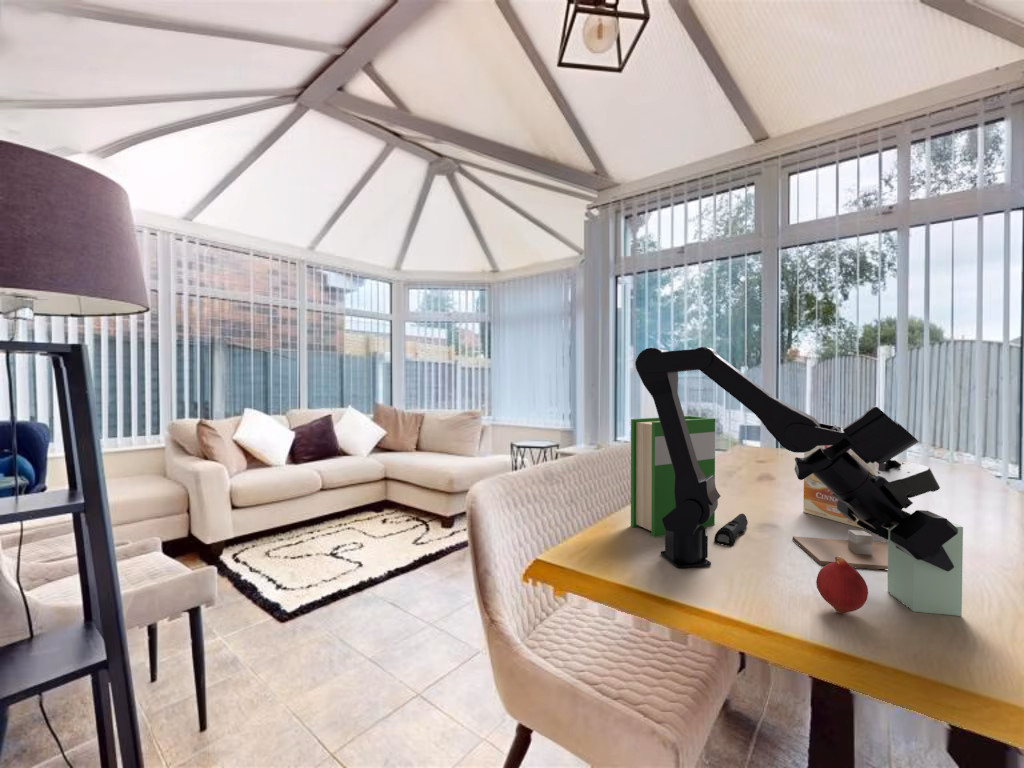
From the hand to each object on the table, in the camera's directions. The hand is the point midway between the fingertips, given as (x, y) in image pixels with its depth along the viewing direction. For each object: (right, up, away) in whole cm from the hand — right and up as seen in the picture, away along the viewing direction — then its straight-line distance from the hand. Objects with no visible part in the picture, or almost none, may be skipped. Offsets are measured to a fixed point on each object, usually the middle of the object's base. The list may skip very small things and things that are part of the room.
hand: (934, 559), depth 64 cm
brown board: (+3, -6, +17) cm, 19 cm away
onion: (-15, -7, -2) cm, 17 cm away
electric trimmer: (-15, -7, +29) cm, 33 cm away
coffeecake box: (+16, -6, +38) cm, 41 cm away
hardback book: (-26, -6, +34) cm, 43 cm away
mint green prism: (-1, -7, 0) cm, 7 cm away
